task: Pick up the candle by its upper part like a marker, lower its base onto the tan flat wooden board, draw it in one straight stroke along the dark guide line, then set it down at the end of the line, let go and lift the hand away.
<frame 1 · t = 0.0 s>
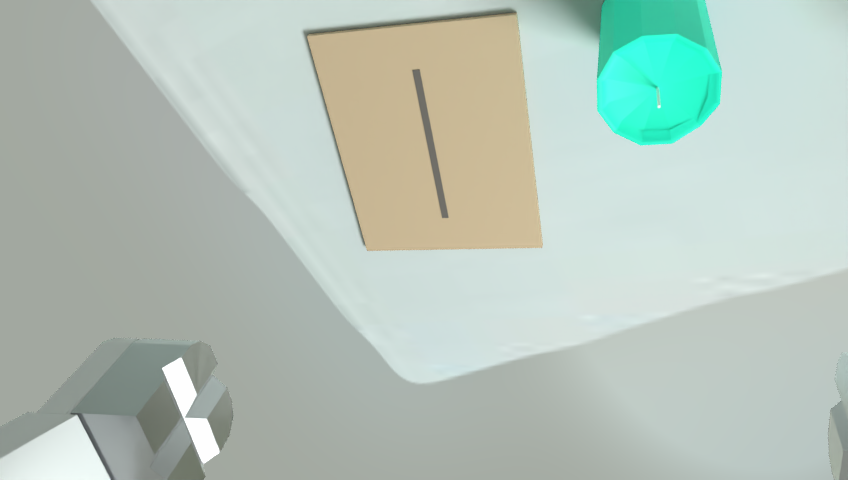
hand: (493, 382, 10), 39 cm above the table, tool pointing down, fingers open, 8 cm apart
candle: (651, 13, 45), on the table
tan flat wooden board: (432, 145, 53), on the table
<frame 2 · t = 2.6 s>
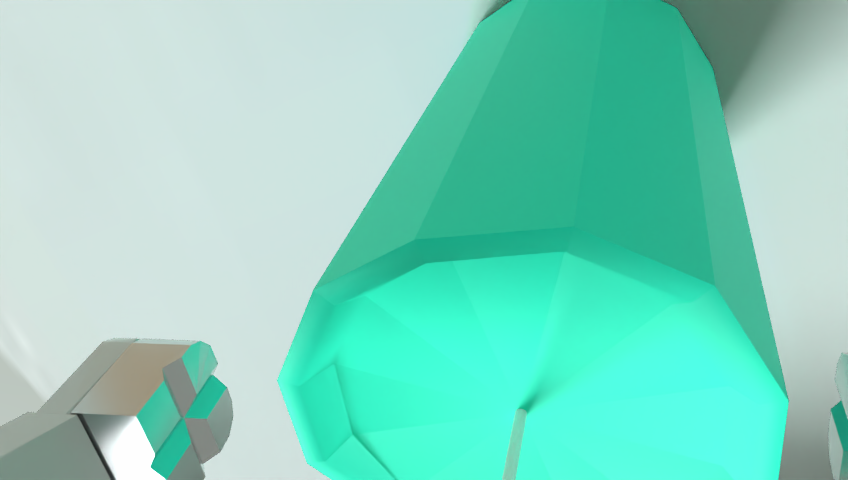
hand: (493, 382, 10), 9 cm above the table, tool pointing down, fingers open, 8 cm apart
candle: (578, 103, 18), on the table
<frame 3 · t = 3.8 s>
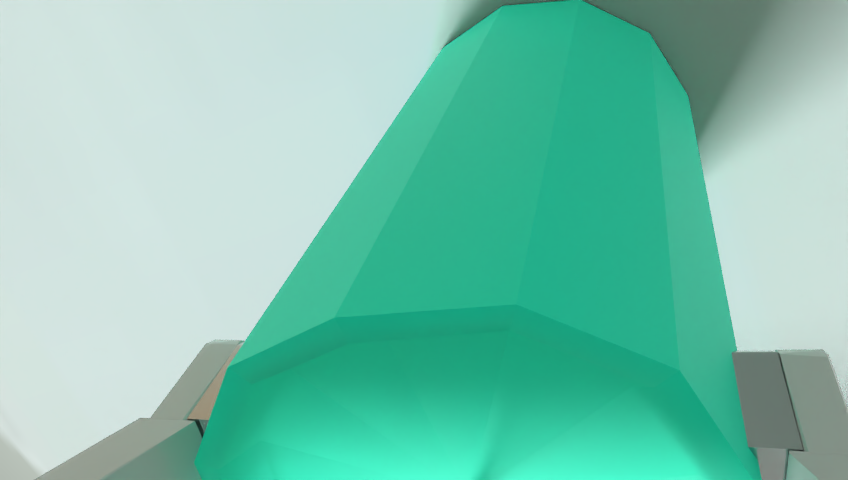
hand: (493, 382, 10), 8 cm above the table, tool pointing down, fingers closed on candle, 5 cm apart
candle: (548, 132, 17), on the table, touching gripper
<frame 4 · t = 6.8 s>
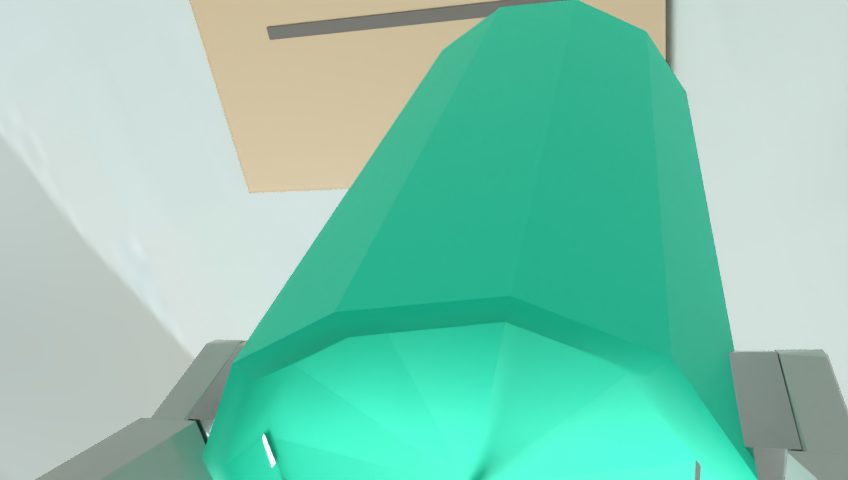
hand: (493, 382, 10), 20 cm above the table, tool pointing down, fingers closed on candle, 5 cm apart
candle: (549, 131, 17), point 12 cm above the table, touching gripper
tan flat wooden board: (415, 14, 28), on the table
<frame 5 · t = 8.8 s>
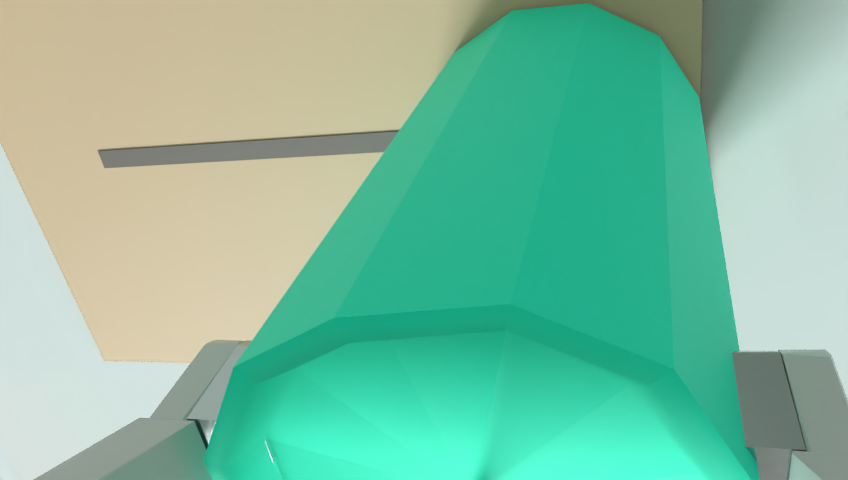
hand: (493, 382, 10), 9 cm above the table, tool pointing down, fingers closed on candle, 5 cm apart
candle: (560, 135, 17), resting on tan flat wooden board, touching gripper
tan flat wooden board: (314, 139, 19), on the table
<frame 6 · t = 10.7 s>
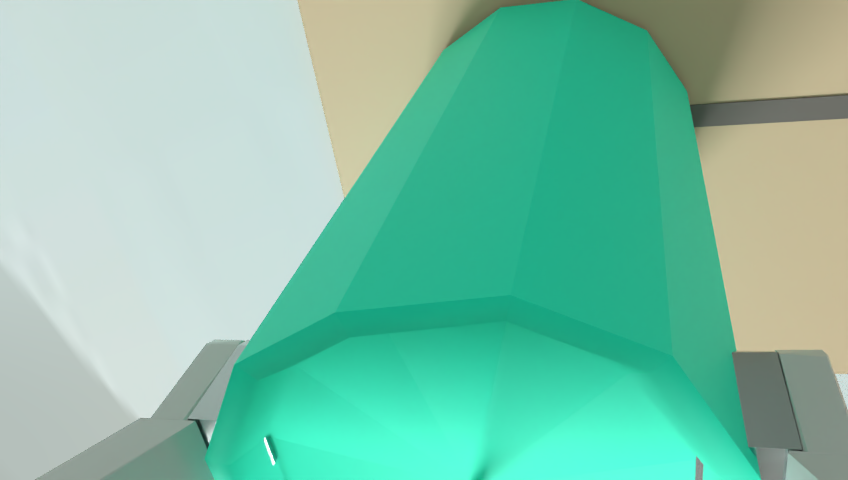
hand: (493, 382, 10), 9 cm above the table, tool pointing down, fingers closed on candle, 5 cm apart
candle: (550, 131, 17), resting on tan flat wooden board, touching gripper
tan flat wooden board: (724, 106, 16), on the table
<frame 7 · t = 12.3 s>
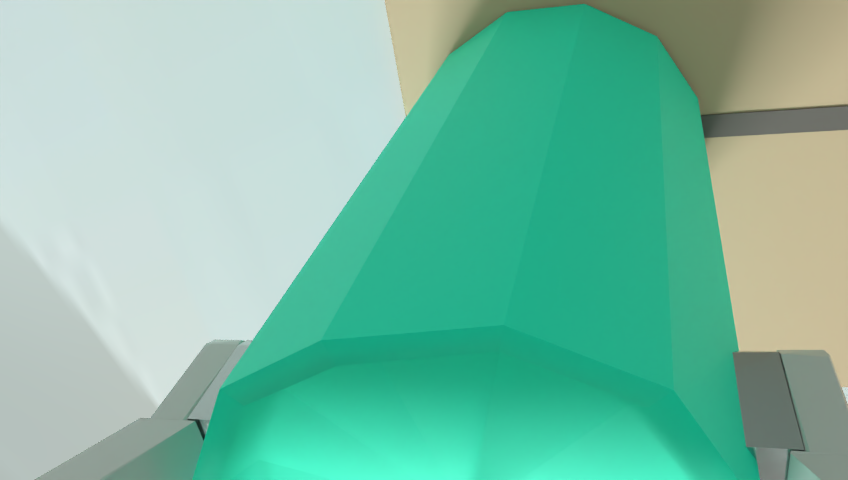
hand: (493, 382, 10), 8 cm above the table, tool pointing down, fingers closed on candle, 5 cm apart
candle: (557, 137, 17), resting on tan flat wooden board, touching gripper
tan flat wooden board: (841, 109, 15), on the table
when the fingers open (8 cm above the table, at t = 13.3 s): candle stays where it is, resting on tan flat wooden board.
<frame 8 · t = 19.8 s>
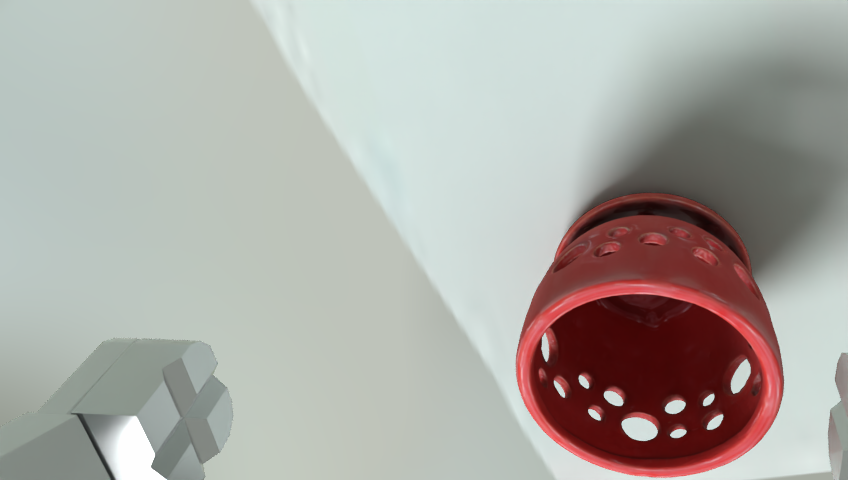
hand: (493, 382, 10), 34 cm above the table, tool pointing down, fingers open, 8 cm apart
plant pot: (641, 260, 47), on the table
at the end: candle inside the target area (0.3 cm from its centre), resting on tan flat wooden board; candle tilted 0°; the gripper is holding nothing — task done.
